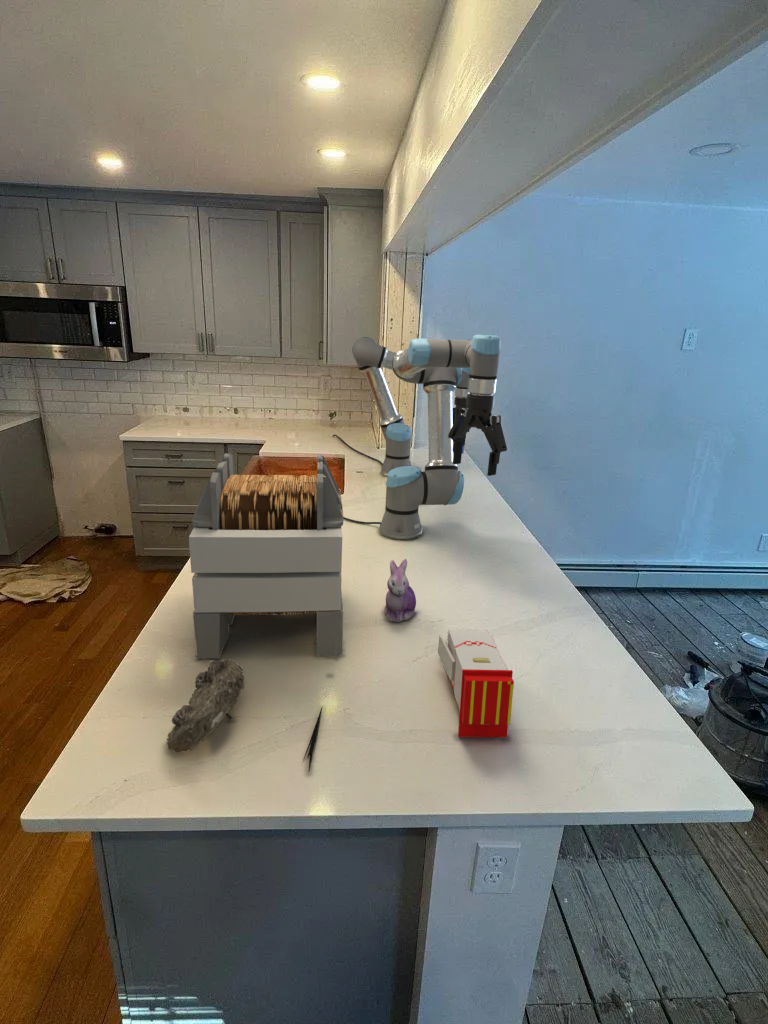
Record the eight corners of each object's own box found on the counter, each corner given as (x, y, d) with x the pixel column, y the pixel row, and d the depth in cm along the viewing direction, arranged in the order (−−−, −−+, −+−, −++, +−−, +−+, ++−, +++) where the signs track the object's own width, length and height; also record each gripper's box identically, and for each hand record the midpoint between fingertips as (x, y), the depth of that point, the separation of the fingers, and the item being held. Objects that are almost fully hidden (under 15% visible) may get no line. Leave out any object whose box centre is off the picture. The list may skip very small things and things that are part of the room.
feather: (331, 679, 122) (336, 673, 122) (307, 777, 96) (313, 769, 95) (324, 675, 122) (329, 669, 121) (298, 772, 95) (304, 764, 95)
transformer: (219, 588, 156) (210, 443, 142) (338, 587, 160) (340, 446, 146) (193, 661, 124) (179, 483, 110) (343, 657, 128) (346, 485, 114)
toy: (488, 613, 130) (523, 677, 101) (484, 667, 133) (517, 744, 104) (435, 612, 130) (455, 676, 101) (432, 666, 133) (451, 743, 103)
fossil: (192, 660, 117) (244, 628, 112) (224, 691, 120) (276, 661, 115) (142, 746, 98) (202, 712, 93) (182, 779, 101) (242, 748, 96)
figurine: (392, 627, 141) (395, 572, 136) (374, 608, 149) (376, 556, 144) (425, 619, 145) (429, 566, 140) (405, 601, 154) (408, 550, 149)
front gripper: (526, 400, 148) (516, 478, 155) (458, 387, 166) (452, 457, 173) (507, 401, 143) (498, 482, 151) (439, 388, 162) (434, 460, 169)
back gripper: (480, 399, 268) (475, 447, 276) (458, 394, 284) (454, 439, 292) (467, 400, 265) (462, 448, 273) (445, 394, 281) (441, 440, 289)
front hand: (473, 469), depth 162 cm, fingers open, 13 cm apart
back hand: (458, 443), depth 282 cm, fingers closed on can, 6 cm apart
